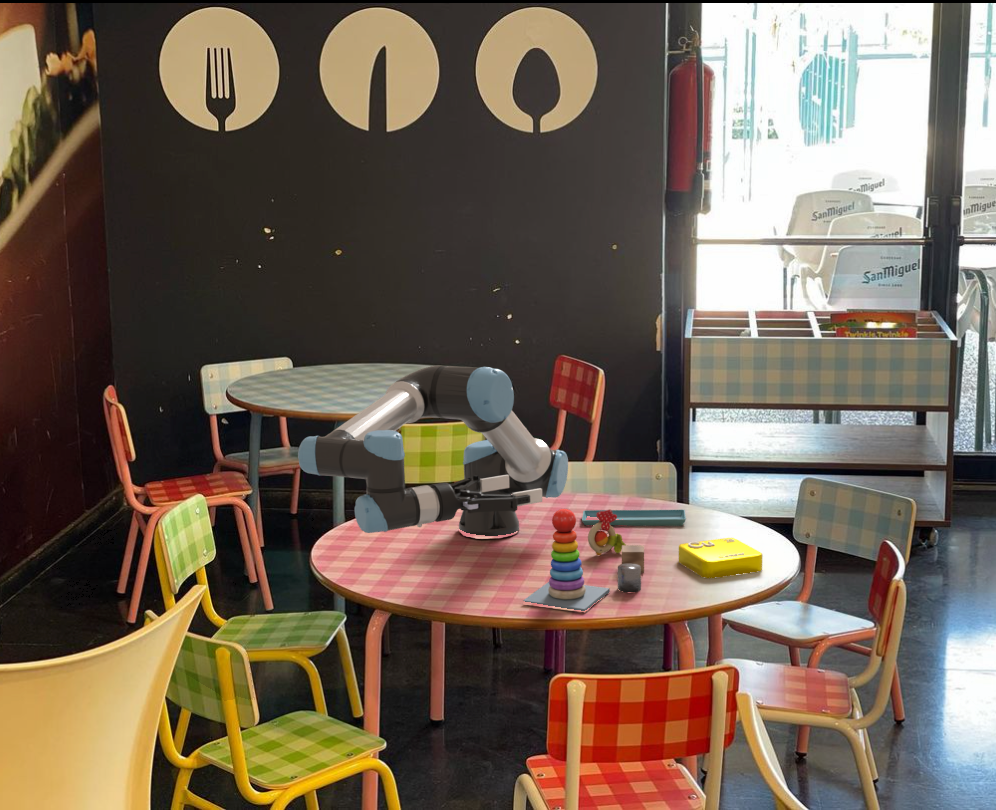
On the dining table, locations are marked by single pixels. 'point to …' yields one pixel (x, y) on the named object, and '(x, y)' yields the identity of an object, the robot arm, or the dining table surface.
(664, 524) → the rectangular tray
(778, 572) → the dining table surface
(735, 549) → the element tile
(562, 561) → the stacking toy
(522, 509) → the dining table surface
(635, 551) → the walnut cube
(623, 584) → the graphite cylinder
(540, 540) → the dining table surface
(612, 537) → the bird rattle
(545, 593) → the pad
